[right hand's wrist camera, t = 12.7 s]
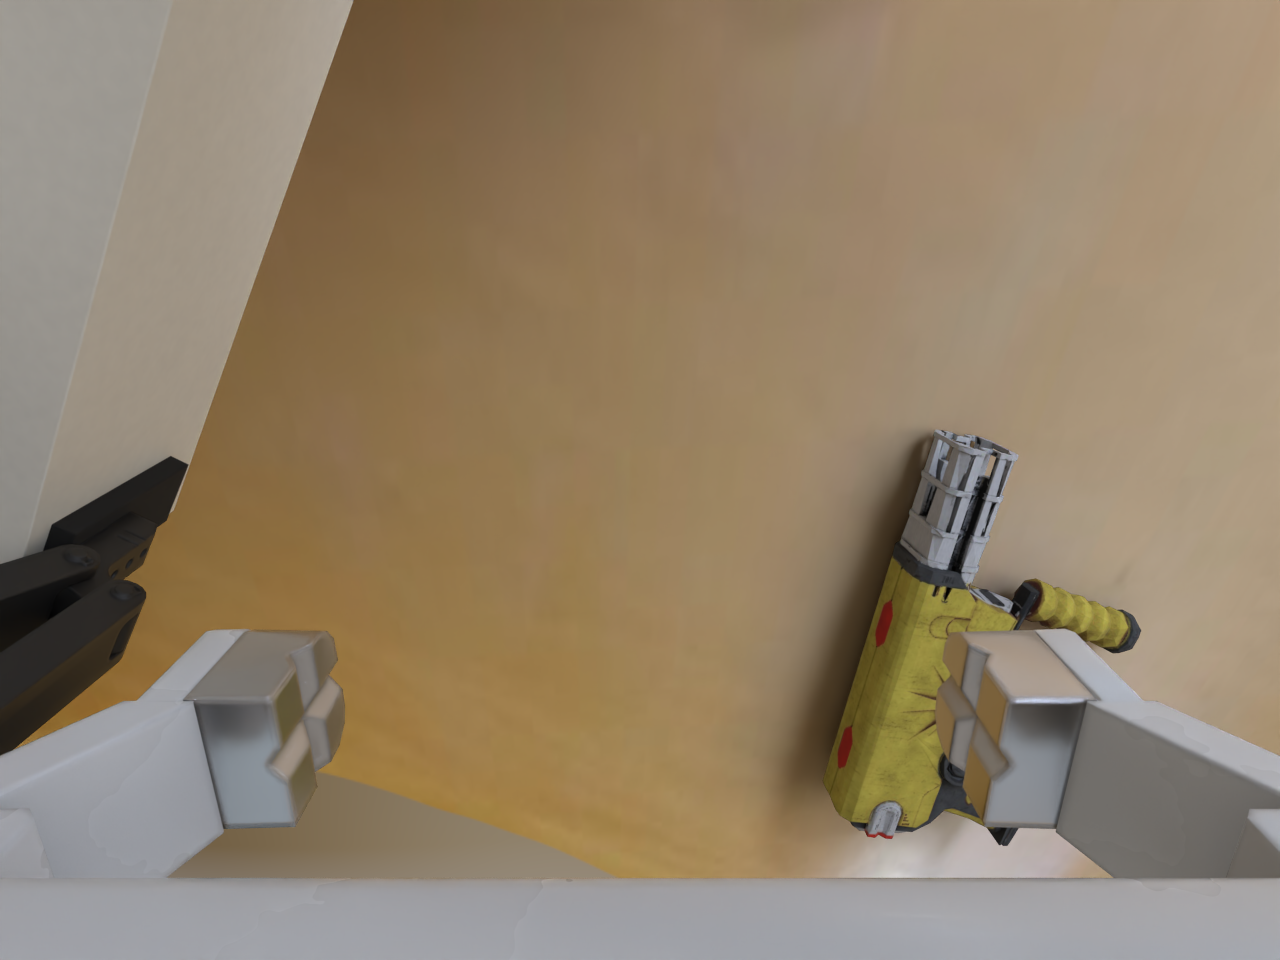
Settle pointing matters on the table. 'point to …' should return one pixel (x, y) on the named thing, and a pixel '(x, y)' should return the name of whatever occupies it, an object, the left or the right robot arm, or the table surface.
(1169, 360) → the table surface
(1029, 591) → the toy gun
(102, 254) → the bar
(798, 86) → the table surface
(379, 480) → the table surface
